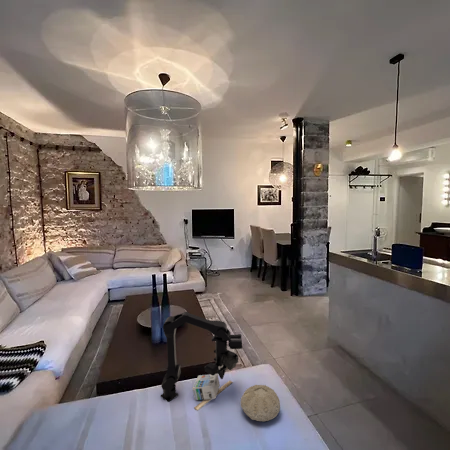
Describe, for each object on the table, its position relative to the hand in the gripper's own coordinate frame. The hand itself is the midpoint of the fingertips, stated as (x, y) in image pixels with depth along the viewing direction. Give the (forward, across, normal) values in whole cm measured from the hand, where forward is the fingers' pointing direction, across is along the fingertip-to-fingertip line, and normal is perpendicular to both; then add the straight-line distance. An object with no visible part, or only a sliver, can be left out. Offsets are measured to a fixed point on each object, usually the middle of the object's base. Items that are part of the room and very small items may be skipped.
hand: (221, 378), depth 136 cm
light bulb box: (+4, -2, +2) cm, 4 cm away
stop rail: (+9, -2, +3) cm, 10 cm away
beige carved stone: (+9, +3, -21) cm, 23 cm away
